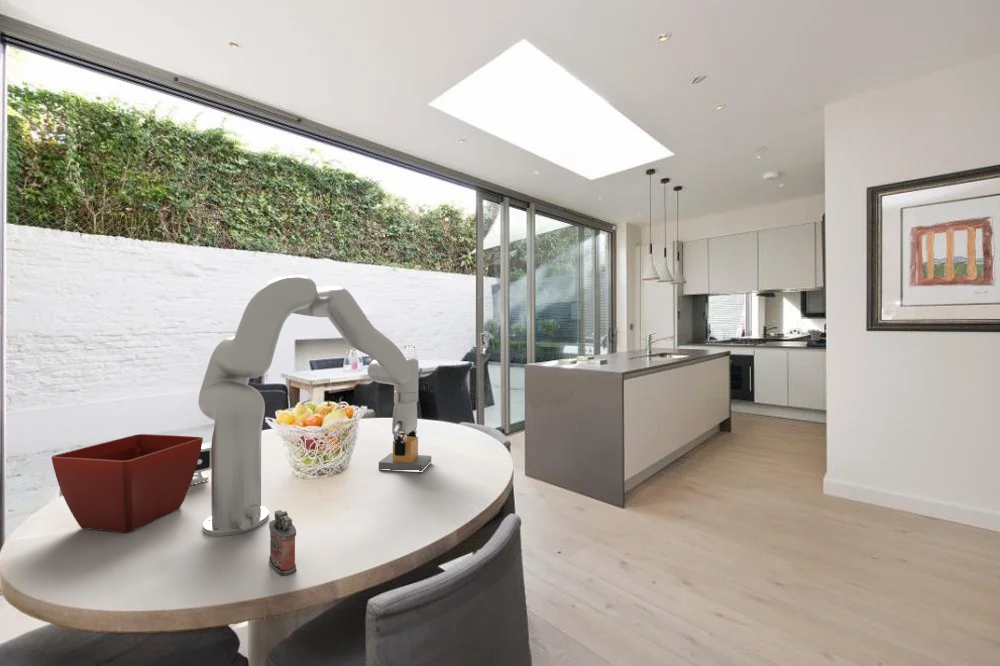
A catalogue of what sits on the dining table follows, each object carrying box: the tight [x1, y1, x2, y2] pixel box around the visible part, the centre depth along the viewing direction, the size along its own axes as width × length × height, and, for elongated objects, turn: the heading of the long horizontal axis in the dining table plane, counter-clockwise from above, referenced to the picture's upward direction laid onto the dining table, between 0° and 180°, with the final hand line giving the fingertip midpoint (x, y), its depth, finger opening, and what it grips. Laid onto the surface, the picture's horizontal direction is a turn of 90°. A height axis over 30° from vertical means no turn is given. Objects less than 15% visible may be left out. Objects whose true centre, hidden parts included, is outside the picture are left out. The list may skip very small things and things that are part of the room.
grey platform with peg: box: [378, 452, 432, 471], centre depth 131 cm, size 14×9×8 cm, turn 81°
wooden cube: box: [392, 436, 419, 463], centre depth 131 cm, size 6×6×6 cm
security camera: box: [190, 443, 211, 486], centre depth 116 cm, size 6×7×10 cm
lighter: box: [268, 509, 297, 578], centre depth 77 cm, size 8×3×10 cm, turn 47°
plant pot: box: [51, 433, 204, 533], centre depth 95 cm, size 19×19×17 cm
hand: (405, 450), depth 131 cm, fingers open, 8 cm apart
